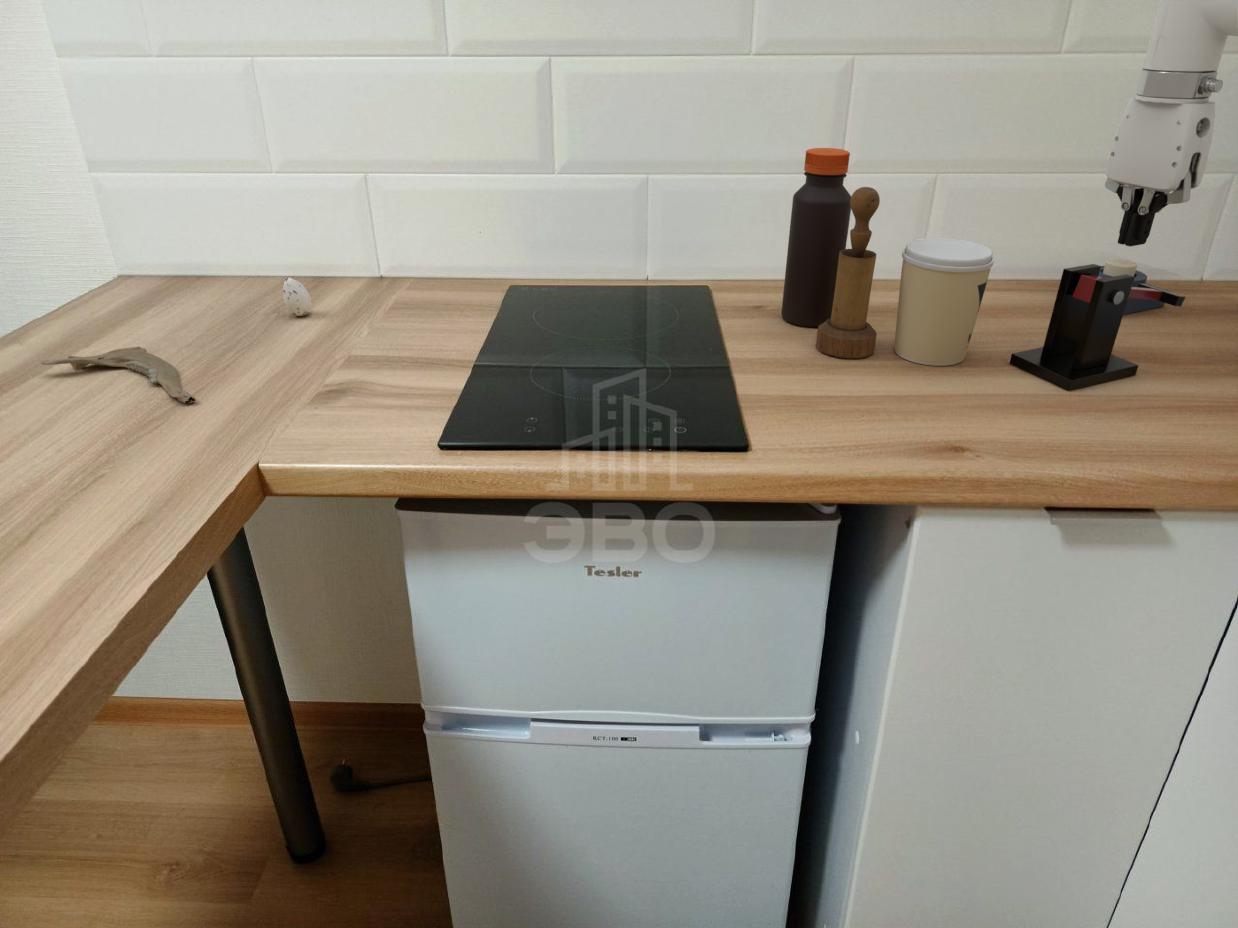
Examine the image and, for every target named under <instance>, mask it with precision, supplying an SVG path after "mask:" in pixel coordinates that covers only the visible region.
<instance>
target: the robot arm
mask: <svg viewBox="0 0 1238 928" xmlns="http://www.w3.org/2000/svg"><path fill="white" fill-rule="evenodd" d="M1228 36H1232V37H1238V0H1159V2H1158V7H1157V11H1156V14H1155V19H1154V23H1153V26H1152V29H1151V34H1150V37H1149V42H1148V45H1147V50H1146V53H1145V57H1144V61H1143V66H1142V69H1141V73H1140V77H1139V81H1138V85H1137V88H1136V92H1135V96H1132V97H1130V99H1129V101H1128V103H1127V105H1126V107H1125V110H1124V112H1123V114H1122V115H1121V119H1120V121H1119V123H1118V126H1117V129H1116V132H1115V135H1114V138H1113V141H1112V144H1111V147H1110V151H1109V154H1108V159H1107V162H1106V169H1105V176H1106V177H1107V179H1106V181H1105V183H1104V187H1105V188H1106V189H1107V190H1109V191H1111V192H1113V193H1115V194H1117V196H1118V199H1119V201H1120V202H1121V204H1120V209H1121V210H1122V211H1123V212H1124V213H1123V217H1122V221H1121V224H1120V227H1119V228H1120V229H1119V230H1118V231H1119V232H1118V233H1119V235H1118V239H1117V244H1118V245H1123V246H1124V245H1125V246H1127V247H1135V246H1142V245H1145V244H1146V243H1147V241H1148V238H1149V237H1150V234H1151V231H1152V226H1153V224H1154V220H1155V217H1156V214H1159V213H1160V212H1161V211H1162V210H1163V209H1164V208H1165V207H1167V206H1168V205H1173V204H1174V205H1175V204H1176V205H1177V204H1183V203H1184V204H1185V203H1188V202H1189V201H1190V200H1191V190H1192V189H1196V188H1198V187H1199V186H1200V185H1201V183H1202V181H1203V177H1204V174H1205V170H1206V166H1207V164H1208V163H1207V162H1208V158H1209V154H1210V150H1211V144H1212V140H1213V135H1214V128H1215V117H1216V102H1215V101H1210V97H1211V96H1212V93H1220V91H1221V89H1223V86H1224V81H1223V79H1217V76H1218V69H1219V66H1220V63H1221V60H1222V56H1223V52H1224V49H1225V46H1226V43H1227V39H1228Z"/></svg>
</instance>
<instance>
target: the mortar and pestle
mask: <svg viewBox="0 0 1238 928" xmlns="http://www.w3.org/2000/svg"><path fill="white" fill-rule="evenodd" d="M880 200H881V198H880V194H879V193H878V191H877V190H876V189H875V188H873V187H870V186H862V187H858V188H857V189H855V191H854V192H853V193H852V195H851V200H850V206H851V212H852V215H853V217H854V219H855V223H854V226H853V228H851V229H850V230H849V237H850V245H851V248H846V249H844V250H841V251H840V253H839V261H838V270H837V278H836V285H835V293H834V300H833V307H832V314H831V318H830V319H828V320H826V321H825V322H824V323H822V324H820V325H819V327H817V331H816V338H815V347H816V349H817V350H818V351H819V352H821V353H823V354H825V355H828V356H833V357H836V358H841V359H863V358H867V357H870V356H871V355H873V354H874V352H875V349H876V342H877V341H876V340H877V331H876V329H875V328H873V327H872V325H871V324H870V323H869V322H867V320H868V313H869V305H870V298H871V292H872V285H873V279H874V272H875V267H876V260H877V253H876V252H875V251H872V250H869V249H867V248H868V245H869V243H870V240H871V237H872V235H873V231H872V230H871V229H870V221H871V219H872V217H873V216H874V215H875V213H876V211H877V210H878V208H879V206H880V202H881V201H880Z"/></svg>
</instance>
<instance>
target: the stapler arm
mask: <svg viewBox="0 0 1238 928" xmlns="http://www.w3.org/2000/svg"><path fill="white" fill-rule="evenodd" d="M1097 279H1103V278H1102V277H1099V276H1091V275H1081V276H1080V279H1079V281H1078V284H1077V286H1076V289H1075V291H1074V294H1073V296H1072V297H1074V298H1077V299H1079V300H1082V301H1085V302H1088V303H1090V300H1091V297H1092V293H1093V290H1094V286H1095V283H1096V280H1097ZM1146 284H1147V283H1146ZM1146 284H1140V283H1139V284H1138V285H1137V287H1131V291H1130V294H1129V297H1128V298H1134V299H1147V300H1158V301H1161V302H1164V304H1166V305H1170V306H1173V307H1182V305H1183V303H1184V301H1185V299H1186V296H1184V295H1181V294H1178V293H1174V292H1171V291H1169V290H1168V291H1165V290H1166V289H1165V290H1162V289H1163V288H1162V289H1159V288H1160V287H1159V288H1156V287H1157V286H1156V287H1153V286H1154V285H1152V286H1149V285H1150V284H1149V285H1146Z"/></svg>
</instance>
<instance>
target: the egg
mask: <svg viewBox="0 0 1238 928" xmlns="http://www.w3.org/2000/svg"><path fill="white" fill-rule="evenodd" d="M282 297H283V302H284V306H285V308H286V309H287V311H289V313H291V314H292V315H293V316H298V317H303V316H306V315H308V314H309V313H310V311H311V309H312V298H311V295H310V294H309V291H308V290H307V288H306V287H305V286H304V285H303V284H302V283H301V282H300V281H298V280H295V279H294V278H292V277H290V276H289V277H286V278H285V280H284V281H283V287H282Z"/></svg>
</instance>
